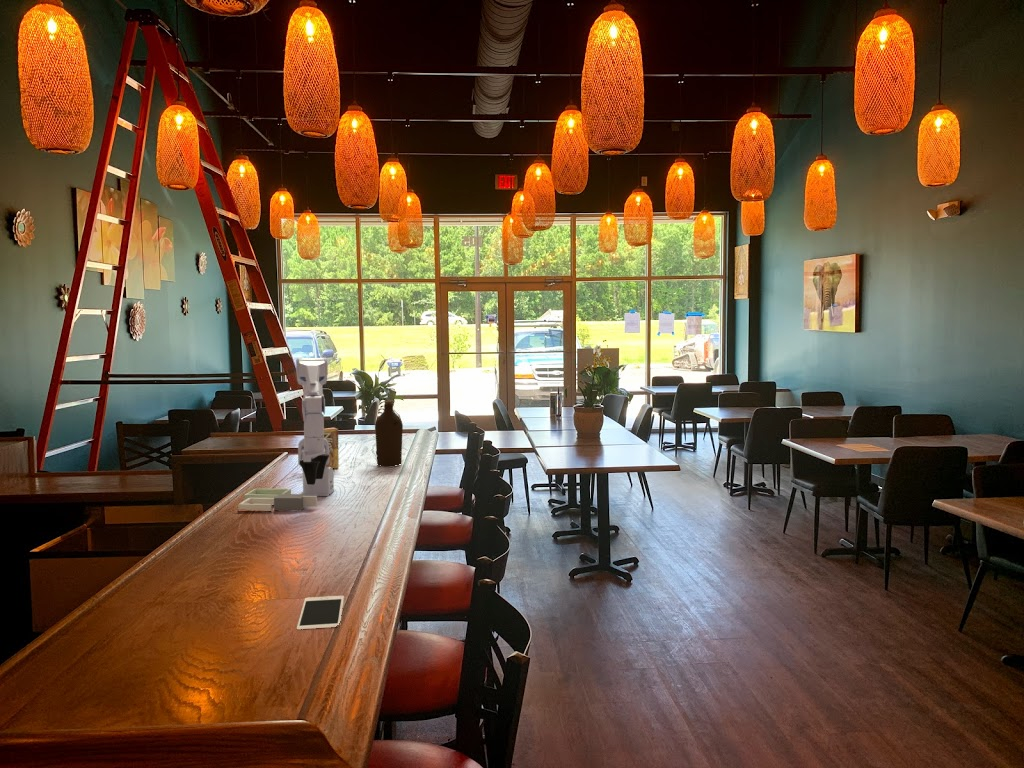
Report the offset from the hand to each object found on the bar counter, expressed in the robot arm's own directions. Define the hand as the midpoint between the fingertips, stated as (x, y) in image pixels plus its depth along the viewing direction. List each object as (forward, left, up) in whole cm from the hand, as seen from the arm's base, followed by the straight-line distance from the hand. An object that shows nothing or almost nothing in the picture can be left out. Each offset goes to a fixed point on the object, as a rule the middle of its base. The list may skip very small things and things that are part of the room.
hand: (315, 481), depth 228 cm
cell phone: (-26, +79, -9) cm, 83 cm away
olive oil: (-8, -70, -9) cm, 71 cm away
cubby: (+16, 0, -8) cm, 19 cm away
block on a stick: (+6, 0, -9) cm, 10 cm away
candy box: (+14, -60, -9) cm, 62 cm away
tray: (+18, -11, -8) cm, 23 cm away
